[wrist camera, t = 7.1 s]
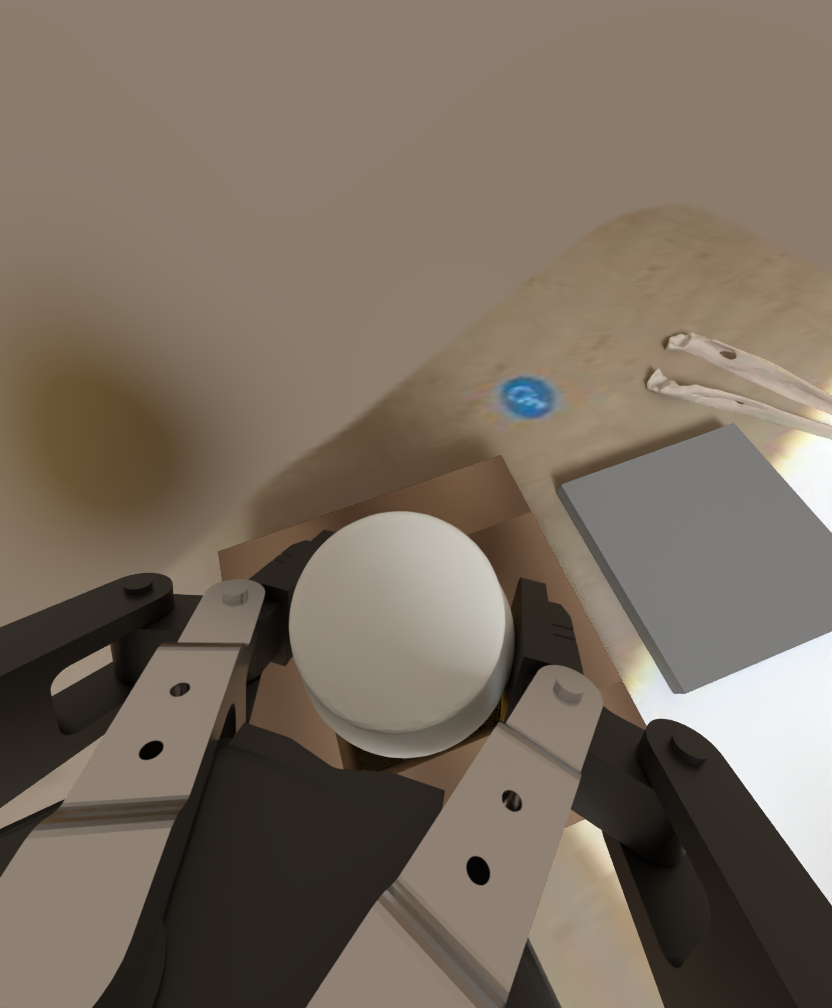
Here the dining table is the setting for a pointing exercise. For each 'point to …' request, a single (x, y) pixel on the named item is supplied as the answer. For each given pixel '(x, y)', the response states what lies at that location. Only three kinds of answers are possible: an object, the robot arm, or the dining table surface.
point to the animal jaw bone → (748, 369)
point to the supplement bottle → (402, 634)
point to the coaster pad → (707, 555)
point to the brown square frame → (512, 554)
